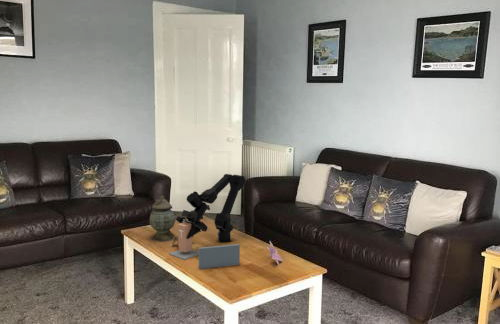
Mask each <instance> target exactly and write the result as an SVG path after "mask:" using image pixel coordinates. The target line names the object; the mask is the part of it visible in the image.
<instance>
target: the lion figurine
mask: <svg viewBox="0 0 500 324" xmlns="http://www.w3.org/2000/svg"><path fill="white" fill-rule="evenodd" d="M174 235H175V236H174V239H173V240H172V245H171V247H174V246H176V244H175V243H176V242H177V245H178V246H179V243H178V233H176V234H174ZM193 237H194V235H193V236H192V238H193Z"/></svg>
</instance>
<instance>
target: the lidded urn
mask: <svg viewBox="0 0 500 324" xmlns="http://www.w3.org/2000/svg"><path fill="white" fill-rule="evenodd" d="M172 209H173V206H172V204H171V203H169V201H168V199H165V196H164V195H160V196H159V198H158V199H156V200H155V201H154V203H153V204H152V205H151V212H150V216H149V225H150V227H151V228H152V229H153V230H155V231H156V232H155V233H154V234H153V235H152V236H151V238H152V240H153V241H156V242H170V241H173V239H174V236H175V235H176V234H174V233H173V232H171V229H172V228H173V227H174V226H175V223H176V216H175V214H174V211H173V210H172Z"/></svg>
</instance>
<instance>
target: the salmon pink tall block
mask: <svg viewBox="0 0 500 324" xmlns="http://www.w3.org/2000/svg"><path fill="white" fill-rule="evenodd" d="M191 225H192V224H190V223H187V222H184V223H181V224H180V223H177V234H178V241H177V244H178V243H179V245H178V250H179V251H182V252H188V251H190V250H193V237H190V238H189V239H187V238H186V237H187V235H188V233H189V232H190V230H191Z"/></svg>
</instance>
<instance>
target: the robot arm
mask: <svg viewBox="0 0 500 324" xmlns="http://www.w3.org/2000/svg"><path fill="white" fill-rule="evenodd" d="M246 182H247V181H246V177H245V175H239V174H230V173H225V174H224V175H223V176H222V177H221V178H220V179H219V180H218V181H217V182H216V183H215V184H214V185H213V186H212V187H210V188H207V189H205V190H204V191H203V192H201V193H200V194H199V193H198V192H197V191H193V192H191V193H190V194H188V195H187V197H186V202H187V203H188V204H190V206H191V207H193V208H194V209H193V210H190V211H188V210H185V209H182V213H181V215H179V216H177V217H176V218H175V221H177V222H178V224H181V223H184V222H187V223H190V224H192V225H191V230H190V232H189V233H188V235H187V237H186V238H187V239H189V238H190V237H192V236H193V237H194V236H195V235H197V234H198V233H201V232H204V233H206V232H207V230H208V226H207V224H206V223H205V222H203V221H201V220H203V219H204V215H205V213H206V211H211V208H210V205H209V204H213V203H215V201H216V200H217V198H218V195H219V194H220V193H221V192H222V191H223V190H224V189H225V188H226V187H227V186H228V185H229V188H230V189H229V191H228V193H227V196H226V199H225V203H224V204H223V208H222V209H221V212H218V213H216V216H215V218H214V221H213V222H214V225H215V228H216V230H218V232H217V240H218V241H219V242H220V243H226V242H232V239H231V232H232V231H233V230H234V226H233V224H231V221H232V218H231V213H232V210H233V207H234V204H235V202H236V199H237V197H238V193H239V191H240V190H242V189H243V188H244V187H245V184H246ZM193 237H192V238H193Z"/></svg>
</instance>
